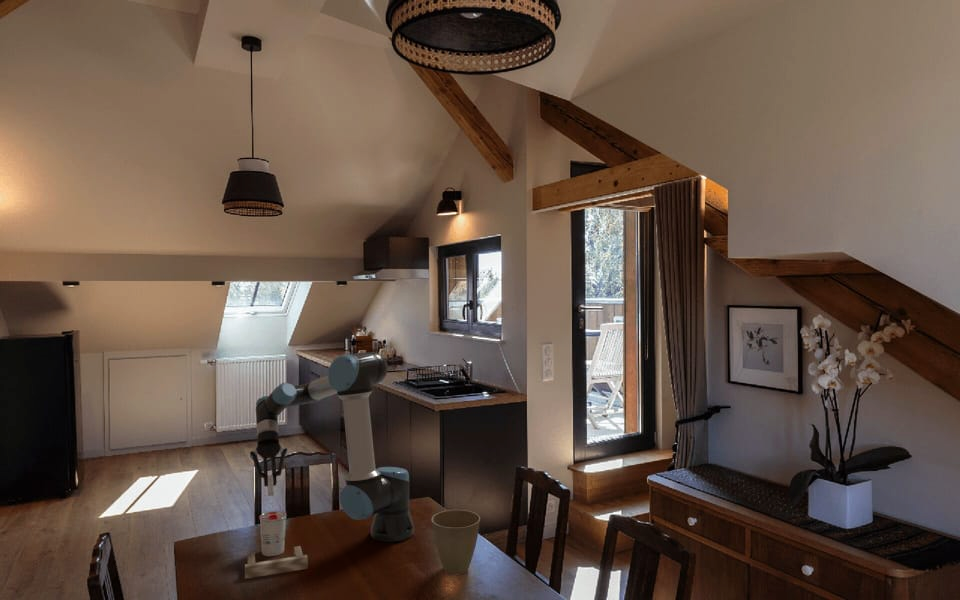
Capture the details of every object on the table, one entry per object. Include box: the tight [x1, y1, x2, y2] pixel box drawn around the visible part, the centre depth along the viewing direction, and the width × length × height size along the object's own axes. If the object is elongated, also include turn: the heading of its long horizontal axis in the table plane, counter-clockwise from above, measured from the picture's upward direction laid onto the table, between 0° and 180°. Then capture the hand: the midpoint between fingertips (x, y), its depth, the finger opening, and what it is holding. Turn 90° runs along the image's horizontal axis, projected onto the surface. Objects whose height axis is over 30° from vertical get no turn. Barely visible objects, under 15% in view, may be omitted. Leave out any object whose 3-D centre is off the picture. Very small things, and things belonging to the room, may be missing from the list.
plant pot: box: [431, 509, 481, 575], centre depth 189 cm, size 15×15×16 cm
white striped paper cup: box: [258, 510, 289, 557], centre depth 202 cm, size 10×8×12 cm
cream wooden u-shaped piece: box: [244, 545, 309, 580], centre depth 192 cm, size 18×11×4 cm, turn 112°
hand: (270, 493), depth 211 cm, fingers closed
